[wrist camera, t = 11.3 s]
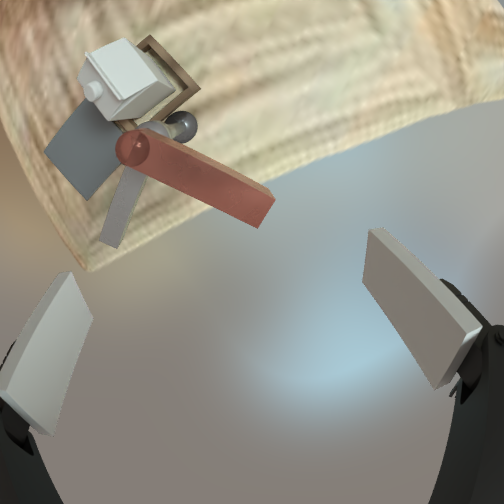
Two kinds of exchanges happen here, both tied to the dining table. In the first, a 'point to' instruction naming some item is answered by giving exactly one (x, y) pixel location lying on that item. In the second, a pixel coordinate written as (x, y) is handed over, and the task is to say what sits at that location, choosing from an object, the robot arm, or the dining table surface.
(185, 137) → the base
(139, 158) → the signpost
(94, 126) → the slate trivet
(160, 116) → the frame
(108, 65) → the milk carton
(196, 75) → the dining table surface
